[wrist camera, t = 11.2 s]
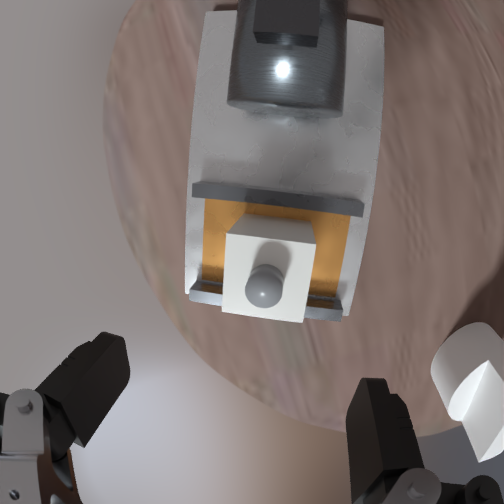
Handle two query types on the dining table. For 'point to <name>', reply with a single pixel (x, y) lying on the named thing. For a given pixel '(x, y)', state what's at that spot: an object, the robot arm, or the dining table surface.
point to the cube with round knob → (268, 267)
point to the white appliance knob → (474, 385)
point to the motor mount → (285, 138)
